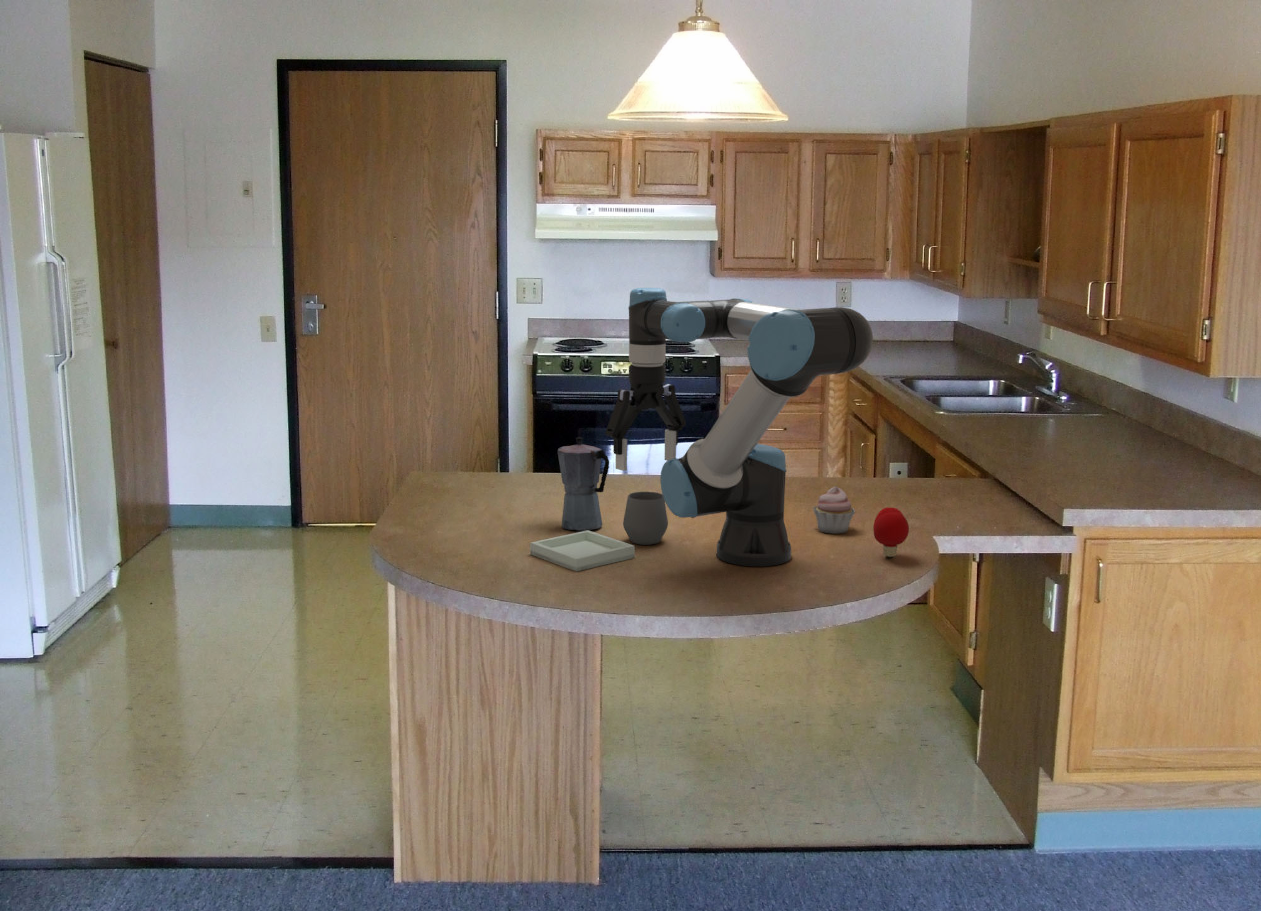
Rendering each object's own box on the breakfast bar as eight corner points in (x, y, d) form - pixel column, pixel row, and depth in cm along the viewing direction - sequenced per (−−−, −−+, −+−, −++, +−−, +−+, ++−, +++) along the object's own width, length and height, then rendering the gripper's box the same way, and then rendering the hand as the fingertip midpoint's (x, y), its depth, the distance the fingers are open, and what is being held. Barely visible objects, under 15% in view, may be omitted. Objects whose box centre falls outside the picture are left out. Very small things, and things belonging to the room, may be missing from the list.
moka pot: (572, 517, 297) (572, 430, 293) (624, 529, 287) (625, 439, 283) (543, 525, 290) (542, 436, 285) (596, 538, 280) (596, 446, 276)
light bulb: (868, 551, 273) (871, 504, 270) (902, 551, 272) (905, 504, 270) (875, 564, 264) (878, 515, 261) (910, 564, 263) (913, 516, 261)
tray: (634, 557, 266) (634, 545, 266) (576, 571, 257) (576, 559, 256) (587, 541, 277) (588, 530, 277) (530, 554, 268) (530, 542, 267)
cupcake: (818, 537, 283) (820, 491, 281) (806, 525, 292) (808, 481, 290) (860, 535, 284) (862, 490, 282) (847, 524, 293) (849, 480, 291)
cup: (676, 543, 277) (677, 497, 274) (639, 550, 271) (640, 503, 269) (650, 533, 284) (651, 488, 282) (614, 539, 279) (614, 493, 277)
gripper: (679, 357, 281) (677, 454, 285) (588, 367, 265) (588, 470, 269) (703, 360, 275) (701, 460, 279) (612, 371, 259) (611, 476, 263)
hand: (646, 465), depth 274 cm, fingers open, 13 cm apart
